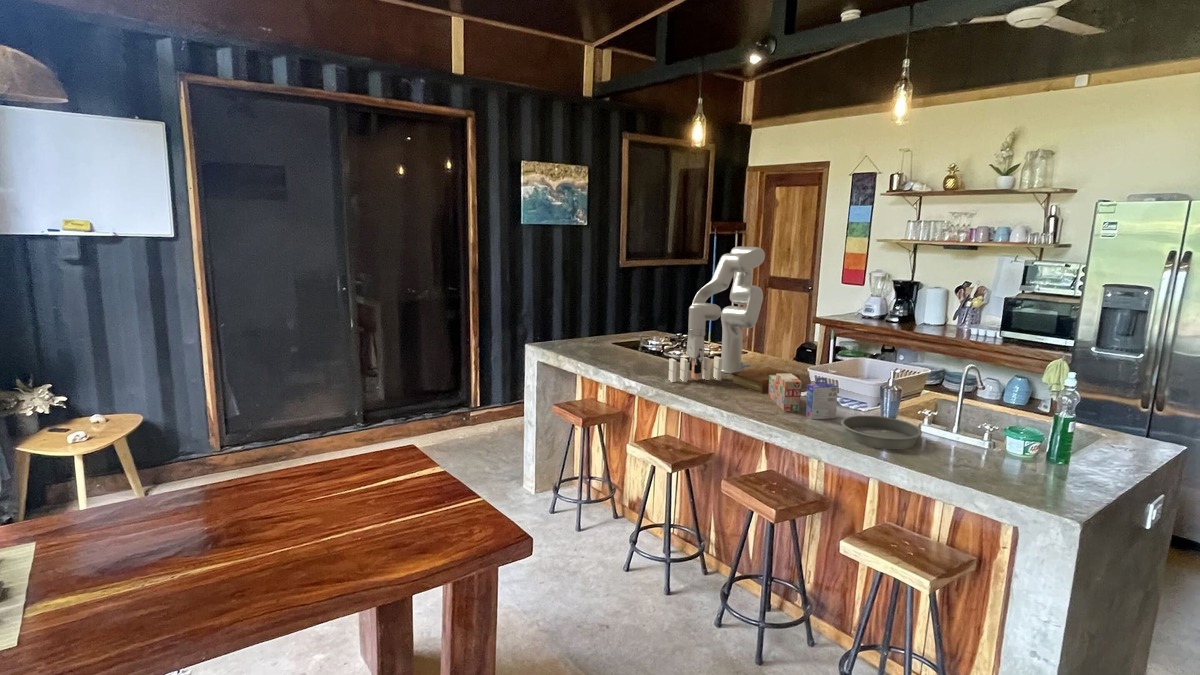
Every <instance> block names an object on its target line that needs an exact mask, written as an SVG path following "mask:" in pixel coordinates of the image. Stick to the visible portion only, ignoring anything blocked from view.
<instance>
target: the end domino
mask: <svg viewBox="0 0 1200 675" xmlns="http://www.w3.org/2000/svg"><path fill="white" fill-rule="evenodd" d="M713 357H714V358H713V377H714V378H713V379H715V378H716V379H715V380H717V381H722V373H723V372H722V358H721V356H713Z"/></svg>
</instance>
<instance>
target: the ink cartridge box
mask: <svg viewBox="0 0 1200 675" xmlns="http://www.w3.org/2000/svg"><path fill="white" fill-rule="evenodd" d="M806 386H807V387H806V407H805V408H806V409H805V416H806V417H807V418H809V419H810V420H820V419H821V420H822V419H823V420H824V419H836V417H837V402H838V390H839V389H838V388H839V387H838V385H835V384H833V383H831V382H828V383H827V379H826V377H817V378H816V383H813V384H811V383H810V384H809V383H808V384H807V385H806Z"/></svg>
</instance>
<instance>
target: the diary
mask: <svg viewBox="0 0 1200 675" xmlns="http://www.w3.org/2000/svg"><path fill="white" fill-rule="evenodd" d="M776 374H792V375H794V376H795V377H797V378H798V379H799V380H800V381H801V377H800V375H799V374H797V373H793V372H789V371H786V370H781V369H778V368H773V367H772V366H771V367H770V366H764V367H758V368H752V369H746V370H745V369H744V371H738V372H732V373H731V374H730V375H732V382H730V384H731V385H733V384H734V386H736V385H738V386H737V387H740V386H741V387H740V388H743V387H745V388H744V389H746V388H747V390H749V389H751V390H750V391H753V390H754V392H756V391H758V392H757V393H759V392H760V394H765V393H769V375H776ZM764 392H765V393H764Z"/></svg>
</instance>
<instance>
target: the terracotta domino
mask: <svg viewBox="0 0 1200 675" xmlns="http://www.w3.org/2000/svg"><path fill="white" fill-rule="evenodd" d="M697 358H699V357H697ZM698 360H699V359H697V361H698ZM694 365H695V359H694V358H692V367H691V371H690V378H691V379H693V380H694V381H699V380H700V377H699V376H700V373H698V374H695V373H694Z"/></svg>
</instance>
